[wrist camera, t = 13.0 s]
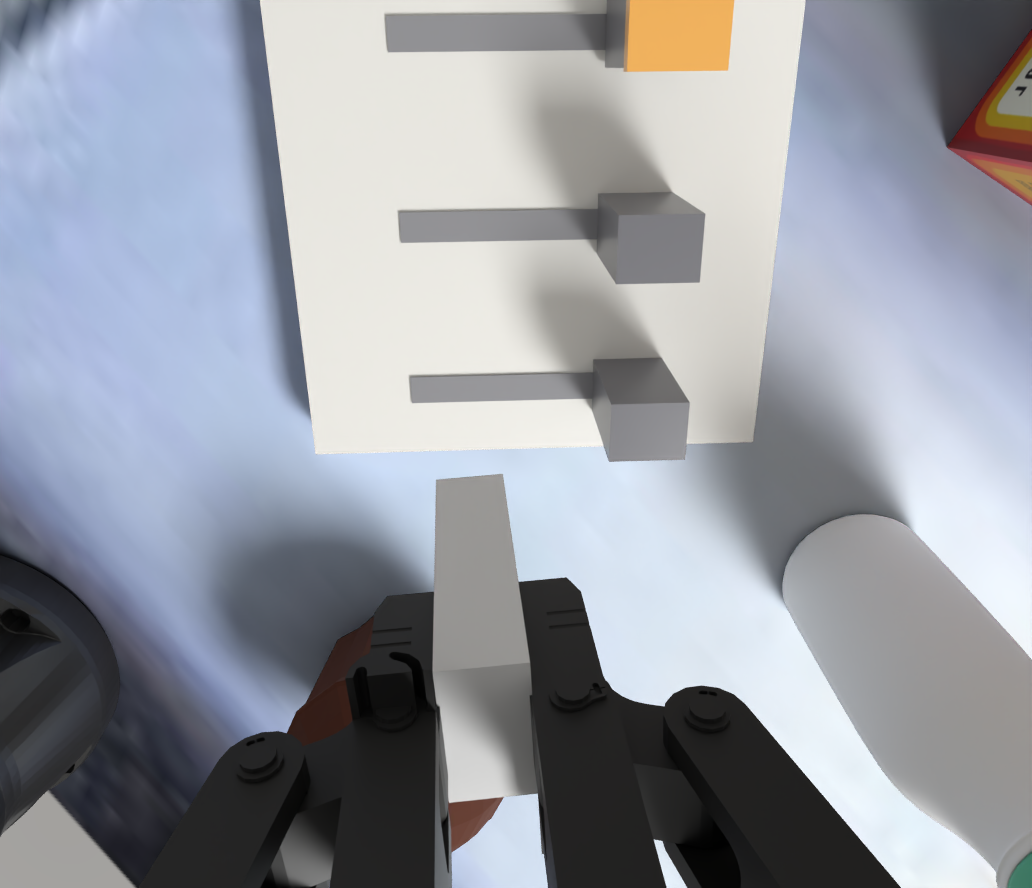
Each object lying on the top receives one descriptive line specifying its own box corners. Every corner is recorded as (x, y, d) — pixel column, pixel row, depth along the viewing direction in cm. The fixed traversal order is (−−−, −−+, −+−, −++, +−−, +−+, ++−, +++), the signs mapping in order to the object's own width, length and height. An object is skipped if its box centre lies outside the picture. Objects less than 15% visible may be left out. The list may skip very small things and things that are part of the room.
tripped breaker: (602, 70, 31) (626, 71, 26) (604, -9, 30) (630, -24, 25) (686, 69, 31) (728, 70, 26) (692, -9, 30) (736, -24, 25)
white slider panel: (324, 431, 40) (292, 511, 33) (268, -51, 31) (208, -84, 24) (737, 420, 41) (792, 496, 33) (789, -54, 32) (877, -88, 25)
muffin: (294, 590, 44) (247, 729, 34) (505, 583, 44) (513, 719, 35) (319, 760, 49) (282, 920, 39) (508, 753, 49) (516, 910, 40)
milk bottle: (748, 579, 44) (936, 935, 26) (861, 481, 42) (1151, 796, 24) (838, 653, 47) (1068, 1027, 29) (950, 564, 45) (1275, 908, 26)
